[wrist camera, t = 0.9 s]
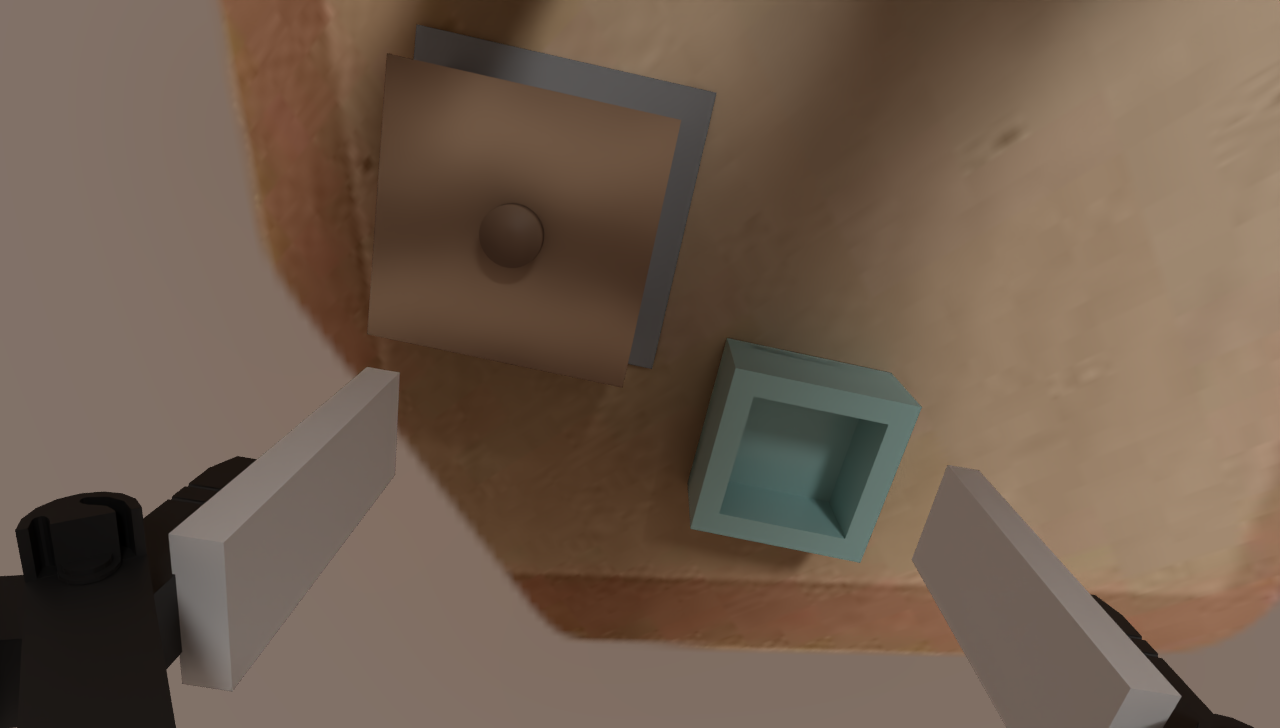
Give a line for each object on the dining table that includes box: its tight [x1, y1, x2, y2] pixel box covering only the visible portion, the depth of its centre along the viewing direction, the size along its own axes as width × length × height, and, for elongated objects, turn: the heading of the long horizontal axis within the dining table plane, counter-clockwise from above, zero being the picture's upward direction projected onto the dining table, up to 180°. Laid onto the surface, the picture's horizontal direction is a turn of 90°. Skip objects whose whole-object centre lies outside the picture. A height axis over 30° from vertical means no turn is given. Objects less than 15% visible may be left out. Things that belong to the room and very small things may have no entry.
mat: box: [414, 25, 716, 369], centre depth 33 cm, size 14×14×1 cm
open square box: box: [687, 338, 922, 563], centre depth 35 cm, size 9×9×4 cm
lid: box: [367, 54, 681, 387], centre depth 29 cm, size 11×11×8 cm
